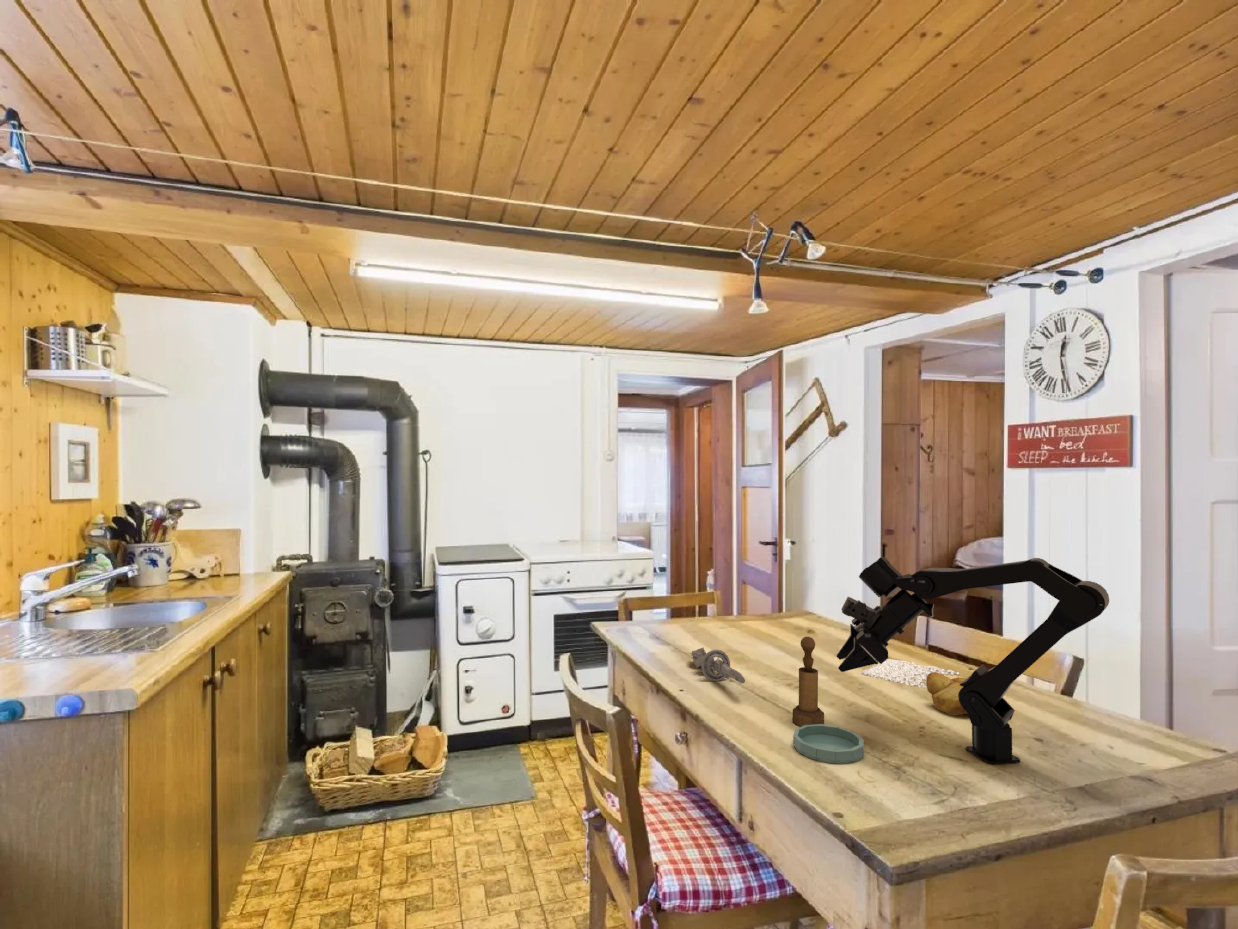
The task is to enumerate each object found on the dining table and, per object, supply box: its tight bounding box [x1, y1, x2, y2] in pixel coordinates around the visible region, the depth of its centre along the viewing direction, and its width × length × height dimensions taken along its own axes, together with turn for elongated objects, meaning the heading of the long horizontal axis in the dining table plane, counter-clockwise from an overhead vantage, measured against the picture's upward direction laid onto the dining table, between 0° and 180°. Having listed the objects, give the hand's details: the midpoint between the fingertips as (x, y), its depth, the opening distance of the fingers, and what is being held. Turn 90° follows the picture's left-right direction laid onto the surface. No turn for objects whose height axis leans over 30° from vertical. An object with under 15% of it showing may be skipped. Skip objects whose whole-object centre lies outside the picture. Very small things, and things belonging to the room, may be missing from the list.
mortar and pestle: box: [791, 636, 825, 727], centre depth 132 cm, size 7×6×18 cm
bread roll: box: [925, 671, 968, 716], centre depth 139 cm, size 13×10×8 cm
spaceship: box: [690, 647, 746, 684], centre depth 159 cm, size 8×35×8 cm
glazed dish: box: [792, 723, 865, 765], centre depth 119 cm, size 13×13×2 cm
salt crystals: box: [860, 658, 960, 689], centre depth 165 cm, size 20×20×2 cm
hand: (838, 663), depth 130 cm, fingers open, 9 cm apart
